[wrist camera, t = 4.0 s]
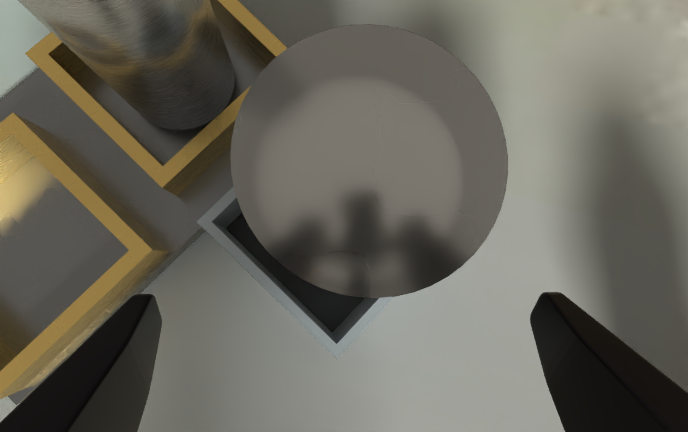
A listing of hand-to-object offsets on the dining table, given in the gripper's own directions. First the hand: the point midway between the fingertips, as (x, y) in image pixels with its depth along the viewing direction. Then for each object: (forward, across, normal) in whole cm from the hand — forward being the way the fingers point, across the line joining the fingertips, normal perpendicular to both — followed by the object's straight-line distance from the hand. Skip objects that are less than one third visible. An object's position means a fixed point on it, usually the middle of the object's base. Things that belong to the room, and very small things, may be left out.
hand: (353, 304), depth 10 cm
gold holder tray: (+11, +10, +3) cm, 15 cm away
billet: (+9, 0, +5) cm, 10 cm away
